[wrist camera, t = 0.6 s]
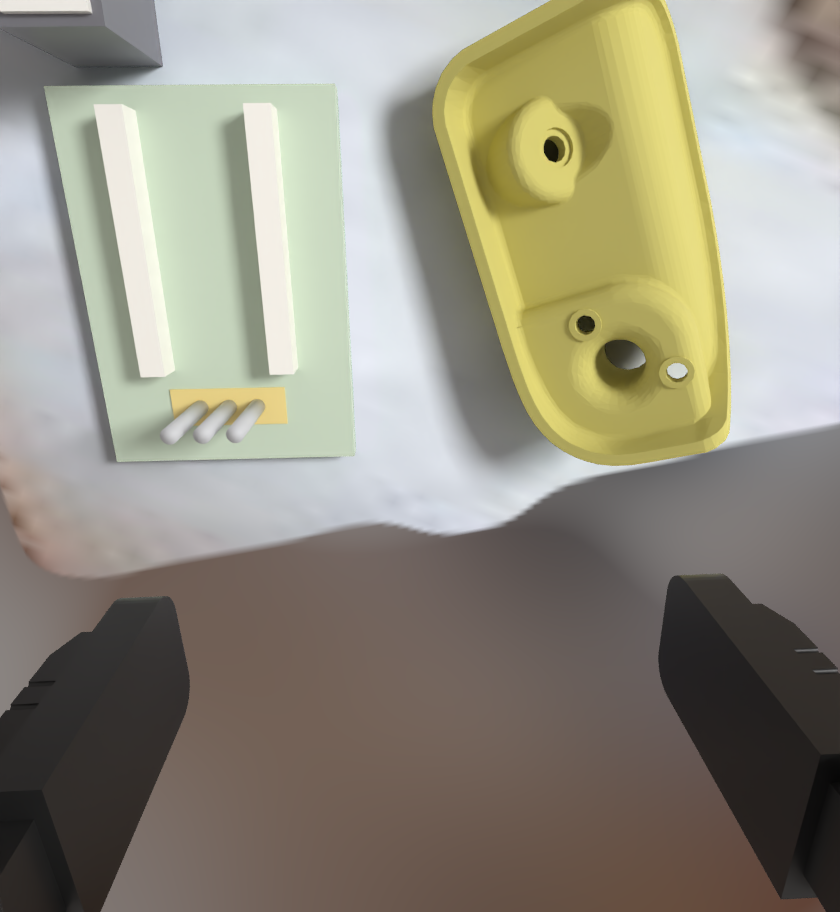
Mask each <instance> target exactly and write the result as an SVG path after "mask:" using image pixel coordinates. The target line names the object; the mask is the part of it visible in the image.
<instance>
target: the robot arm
mask: <svg viewBox="0 0 840 912" xmlns="http://www.w3.org/2000/svg"><path fill="white" fill-rule="evenodd" d="M658 662H659V672H660V677H661V680H662V684H663V687H664V690H665V692H666V694H667V696H668V698H669V700H670V702H671V704H672V705H673V707H674V709H675V711H676V712H677V714H678V716H679V718H680V719H681V721H682V723H683V725H684V727H685V729H686V730H687V732H688V734H689V736H690V737H691V739H692V741H693V743H694V744H695V746H696V748H697V750H698V752H699V754H700V755H701V757H702V759H703V761H704V762H705V764H706V766H707V768H708V770H709V771H710V773H711V775H712V777H713V779H714V780H715V782H716V784H717V786H718V788H719V789H720V791H721V793H722V795H723V797H724V798H725V800H726V802H727V804H728V806H729V807H730V809H731V811H732V812H733V814H734V816H735V818H736V820H737V822H738V823H739V825H740V827H741V829H742V831H743V832H744V834H745V836H746V838H747V839H748V841H749V843H750V845H751V846H752V848H753V850H754V852H755V854H756V856H757V857H758V859H759V861H760V863H761V865H762V866H763V868H764V870H765V872H766V873H767V875H768V877H769V879H770V880H771V882H772V884H773V886H774V888H775V890H776V891H777V893H778V895H779V897H780V898H781V899H797V898H815V897H817V898H818V899H819V901H820V903H821V904H822V906H823V907H824V909H825V911H826V912H840V674H839V673H838V671H837V670H838V668H837V667H836V666H835V665H834V664H833V663H832V662H831V661H830V660H829V659H828V658H827V657H826V656H825V655H824V654H823V653H819V652H818V647H816V645H815V644H814V643H813V642H812V641H811V640H810V639H809V638H808V637H807V636H806V635H805V634H804V633H803V632H802V631H801V630H800V629H799V628H798V627H797V626H796V625H795V624H794V623H793V622H791V621H789V620H788V619H786V618H784V617H783V616H781V615H779V614H778V613H776V612H774V611H773V610H771V609H769V608H768V607H766V606H764V605H763V604H752V603H751V602H750V601H749V600H748V599H747V598H746V596H745V595H744V594H743V593H742V592H741V591H740V590H739V589H738V588H737V587H736V585H735V584H734V583H733V582H732V581H731V580H730V579H729V578H728V577H727V576H725V575H724V574H702V575H680V576H674V577H672V579H671V580H670V582H669V585H668V589H667V595H666V603H665V610H664V617H663V625H662V632H661V639H660V647H659V655H658ZM189 688H190V680H189V671H188V667H187V662H186V657H185V652H184V647H183V643H182V638H181V633H180V629H179V623H178V619H177V613H176V609H175V605H174V603H173V601H172V600H171V598H170V597H168V596H162V597H139V598H120V599H117V600H116V601H115V602H114V603H113V604H112V605H111V607H110V608H109V609H108V611H107V612H106V613H105V615H104V616H103V618H102V619H101V621H100V622H99V623H98V624H97V626H96V627H95V629H94V630H93V631H92V632H81V633H80V634H78V635H77V636H76V637H74V638H73V639H72V640H70V641H69V642H67V643H66V644H65V645H63V646H62V647H61V648H59V649H58V650H56V651H55V652H54V653H52V654H51V655H50V656H49V657H48V658H47V659H46V661H45V662H44V663H43V665H42V666H41V667H40V668H39V670H38V671H37V672H36V673H35V675H34V676H33V677H32V678H31V680H30V681H29V686H28V687H24V688H23V690H22V691H21V692H20V693H19V695H18V696H17V697H16V698H15V700H14V701H13V702H12V704H11V708H10V710H7V711H5V712H4V714H3V715H2V716H1V718H0V912H100V911H101V909H102V907H103V904H104V902H105V900H106V898H107V895H108V893H109V891H110V888H111V886H112V884H113V881H114V879H115V877H116V874H117V872H118V870H119V867H120V865H121V863H122V860H123V858H124V856H125V853H126V851H127V848H128V846H129V844H130V842H131V839H132V837H133V835H134V832H135V830H136V828H137V825H138V823H139V821H140V818H141V816H142V814H143V811H144V809H145V806H146V804H147V802H148V800H149V797H150V795H151V793H152V790H153V788H154V785H155V783H156V781H157V778H158V776H159V774H160V772H161V769H162V767H163V765H164V762H165V760H166V757H167V755H168V753H169V750H170V748H171V746H172V744H173V741H174V739H175V737H176V734H177V732H178V730H179V727H180V725H181V723H182V720H183V718H184V715H185V713H186V709H187V705H188V699H189V690H190V689H189Z"/></svg>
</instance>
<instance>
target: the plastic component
mask: <svg viewBox="0 0 840 912" xmlns="http://www.w3.org/2000/svg"><path fill="white" fill-rule="evenodd" d="M432 117H433V125H434V131H435V134H436V137H437V140H438V144H439V147H440V150H441V153H442V156H443V160H444V163H445V166H446V169H447V173H448V176H449V179H450V182H451V185H452V189H453V192H454V195H455V198H456V201H457V205H458V208H459V211H460V214H461V218H462V221H463V224H464V227H465V230H466V234H467V237H468V240H469V243H470V247H471V250H472V253H473V256H474V259H475V263H476V266H477V269H478V272H479V275H480V279H481V282H482V285H483V288H484V292H485V295H486V298H487V301H488V304H489V308H490V311H491V314H492V317H493V320H494V324H495V327H496V330H497V333H498V337H499V340H500V343H501V346H502V349H503V352H504V355H505V358H506V361H507V364H508V367H509V370H510V373H511V376H512V379H513V381H514V384H515V387H516V389H517V392H518V394H519V396H520V399H521V401H522V403H523V405H524V407H525V409H526V411H527V413H528V415H529V416H530V418H531V419H532V421H533V422H534V424H535V425H536V427H537V428H538V429H539V430H540V432H541V433H542V434H543V435H544V436H545V437H546V438H547V439H548V440H549V441H550V442H551V443H552V444H554V445H555V446H557V447H558V448H560V449H561V450H562V451H564V452H566V453H568V454H570V455H572V456H574V457H576V458H579V459H581V460H584V461H587V462H591V463H595V464H601V465H610V466H621V465H635V464H642V463H648V462H654V461H660V460H665V459H671V458H676V457H682V456H688V455H694V454H699V453H705V452H708V451H711V450H713V449H715V448H717V447H718V446H719V445H720V444H721V443H723V442H724V441H725V440H726V438H727V436H728V434H729V430H730V414H731V372H730V350H729V335H728V322H727V311H726V301H725V292H724V283H723V275H722V268H721V261H720V253H719V247H718V241H717V234H716V228H715V223H714V217H713V211H712V206H711V200H710V195H709V190H708V186H707V181H706V176H705V171H704V166H703V161H702V156H701V151H700V146H699V142H698V137H697V132H696V127H695V122H694V117H693V112H692V107H691V102H690V97H689V93H688V88H687V83H686V78H685V73H684V68H683V63H682V58H681V53H680V48H679V44H678V40H677V36H676V32H675V28H674V25H673V22H672V19H671V15H670V12H669V10H668V7H667V5H666V2H665V0H551V1H549V2H547V3H545V4H543V5H542V6H540V7H538V8H536V9H535V10H533V11H531V12H529V13H527V14H526V15H524V16H522V17H520V18H518V19H517V20H515V21H513V22H511V23H509V24H508V25H506V26H504V27H502V28H501V29H499V30H497V31H495V32H493V33H492V34H490V35H488V36H486V37H484V38H483V39H481V40H479V41H477V42H475V43H474V44H472V45H470V46H468V47H467V48H465V49H463V50H462V51H461V52H459V53H458V54H457V55H456V56H455V57H454V58H453V59H452V60H451V61H450V62H449V64H448V65H447V67H446V68H445V69H444V71H443V72H442V74H441V77H440V79H439V81H438V84H437V86H436V89H435V94H434V99H433V108H432ZM545 140H551V141H553V142H554V143H555V144H556V146H557V147H558V150H559V157H558V159H557V161H556V163H555V162H552V161H549V160H548V159H547V157H546V156H545V154H544V143H545ZM583 315H585V316H590V317H591V318H592V319H593V320H594V322H595V328H594V330H593V331H590V332H584V331H582V330H580V328H579V327H578V319H579V317H581V316H583ZM613 340H628V341H631V342H633V343H635V344H636V345H637V346H638V347H639V348H640V349H641V350H642V352H643V353H644V355H645V359H646V362H645V363H644V364H643V365H641V366H640V367H638V368H634V369H630V370H627V369H621V368H617V367H616V366H614V365H613V364H611V362H610V361H609V360H608V359H607V356H606V353H605V344H606V343H608V342H610V341H613ZM673 363H681V364H683V365H685V367H686V368H687V370H688V373H687V374H686V375H685V376H684V377H682V378H679V379H676V378H672V377H671V376H670V375H668V373H667V368H668V366H670V365H671V364H673Z"/></svg>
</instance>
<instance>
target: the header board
mask: <svg viewBox="0 0 840 912" xmlns="http://www.w3.org/2000/svg"><path fill="white" fill-rule="evenodd" d="M44 90H45V96H46V101H47V106H48V111H49V116H50V121H51V126H52V131H53V137H54V142H55V147H56V152H57V157H58V162H59V167H60V172H61V177H62V183H63V188H64V193H65V198H66V203H67V208H68V213H69V218H70V224H71V229H72V234H73V239H74V244H75V249H76V254H77V259H78V265H79V270H80V275H81V280H82V285H83V290H84V295H85V300H86V306H87V311H88V316H89V321H90V326H91V331H92V336H93V341H94V346H95V352H96V357H97V362H98V367H99V372H100V377H101V382H102V387H103V393H104V398H105V403H106V408H107V413H108V418H109V423H110V428H111V434H112V439H113V444H114V449H115V454H116V459H117V462H131V461H173V460H215V459H257V458H298V457H340V456H355V451H356V442H355V422H354V403H353V384H352V365H351V346H350V326H349V307H348V288H347V269H346V250H345V230H344V211H343V192H342V173H341V154H340V134H339V115H338V96H337V88H336V86H335V84H233V85H102V86H44Z"/></svg>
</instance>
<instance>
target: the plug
mask: <svg viewBox="0 0 840 912" xmlns="http://www.w3.org/2000/svg"><path fill="white" fill-rule="evenodd" d="M0 29H1V30H3V31H5V32H7V33H9V34H11V35H13V36H15V37H17V38H19V39H21V40H23V41H25V42H27V43H29V44H31V45H33V46H35V47H37V48H39V49H41V50H43V51H45V52H47V53H49V54H51V55H53V56H55V57H57V58H59V59H61V60H63V61H65V62H67V63H69V64H71V65H73V66H75V67H141V66H163V63H162V56H161V49H160V41H159V34H158V26H157V19H156V12H155V4H154V0H0Z"/></svg>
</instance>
